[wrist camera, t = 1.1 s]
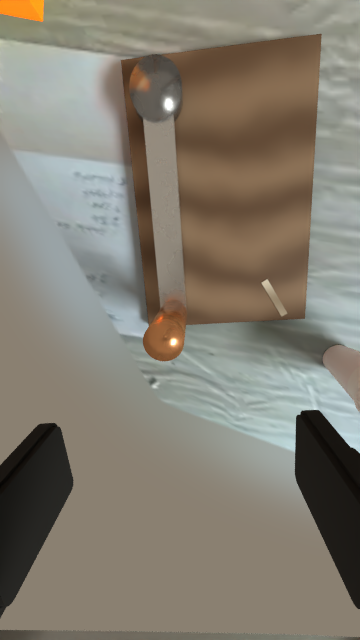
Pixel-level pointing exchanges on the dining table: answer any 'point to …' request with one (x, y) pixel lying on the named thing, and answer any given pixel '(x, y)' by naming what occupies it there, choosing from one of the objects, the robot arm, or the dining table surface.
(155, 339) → the lever
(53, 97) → the dining table surface
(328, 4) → the dining table surface
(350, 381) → the smoothie
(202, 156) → the lever base
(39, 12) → the orange juice
